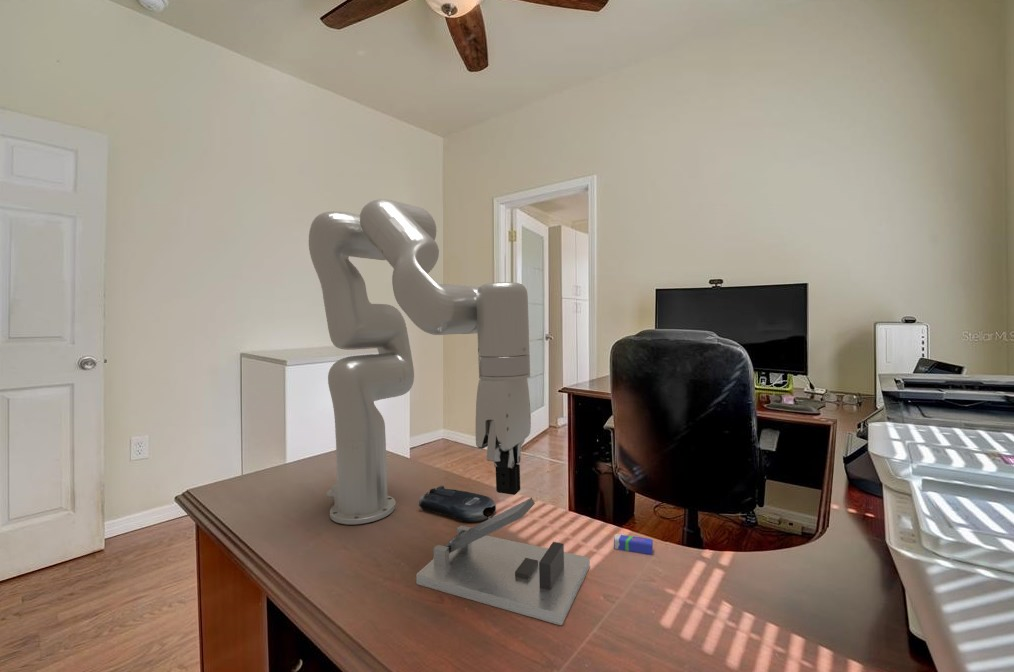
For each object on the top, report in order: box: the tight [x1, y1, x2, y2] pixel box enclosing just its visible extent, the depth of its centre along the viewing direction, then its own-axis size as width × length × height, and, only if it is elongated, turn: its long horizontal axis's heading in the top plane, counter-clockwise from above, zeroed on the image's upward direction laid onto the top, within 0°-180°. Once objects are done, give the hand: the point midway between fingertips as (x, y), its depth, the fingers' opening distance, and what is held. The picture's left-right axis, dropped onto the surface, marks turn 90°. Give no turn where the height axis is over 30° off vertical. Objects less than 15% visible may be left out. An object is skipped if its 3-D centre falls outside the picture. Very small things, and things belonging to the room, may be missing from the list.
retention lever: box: [443, 497, 536, 554], centre depth 66 cm, size 16×5×1 cm
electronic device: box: [418, 485, 497, 523], centre depth 88 cm, size 9×6×15 cm
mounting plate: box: [415, 525, 591, 626], centre depth 65 cm, size 22×14×5 cm, turn 65°
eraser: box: [613, 533, 654, 556], centre depth 72 cm, size 2×6×2 cm, turn 68°
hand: (508, 491), depth 64 cm, fingers closed
